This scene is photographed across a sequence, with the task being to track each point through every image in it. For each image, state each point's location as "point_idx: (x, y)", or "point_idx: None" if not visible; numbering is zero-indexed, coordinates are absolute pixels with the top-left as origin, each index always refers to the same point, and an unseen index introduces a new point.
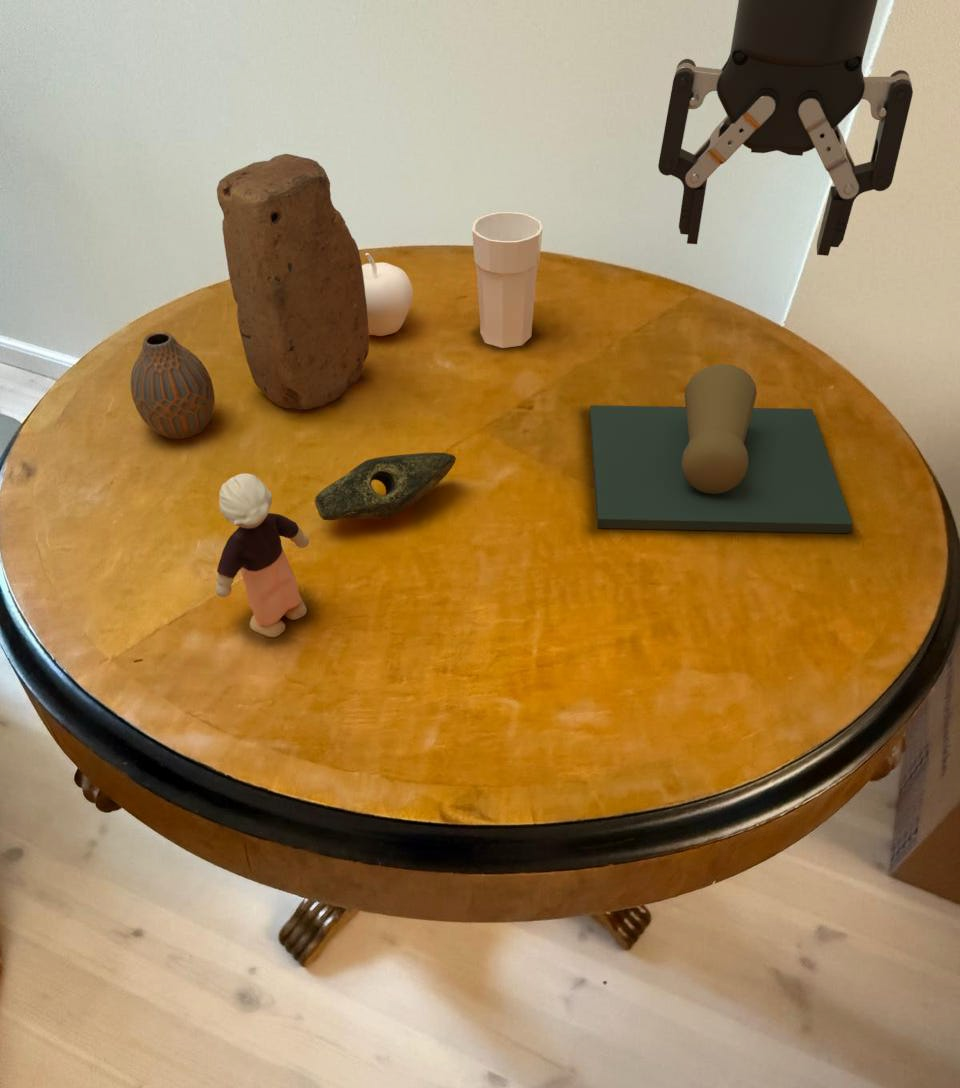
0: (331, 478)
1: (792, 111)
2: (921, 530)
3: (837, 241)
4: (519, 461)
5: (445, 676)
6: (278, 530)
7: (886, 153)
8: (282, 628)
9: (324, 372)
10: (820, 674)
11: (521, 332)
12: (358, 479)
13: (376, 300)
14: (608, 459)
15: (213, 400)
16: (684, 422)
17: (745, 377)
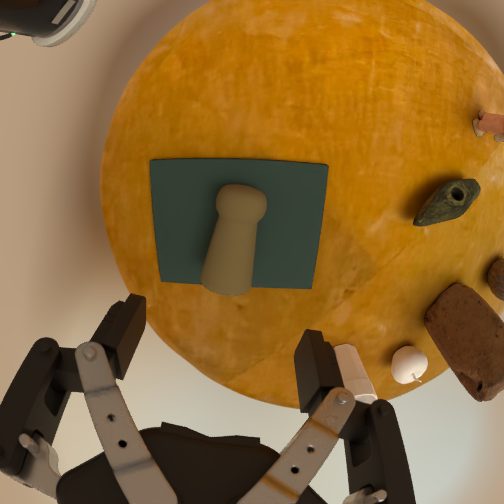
0: (457, 227)
1: (188, 497)
2: (111, 167)
3: (118, 305)
4: (364, 237)
5: (416, 59)
6: None
7: (29, 380)
8: (480, 112)
9: (455, 300)
10: (200, 36)
11: (337, 352)
12: (469, 195)
13: (417, 358)
14: (310, 230)
15: (493, 277)
16: None
17: (209, 283)
